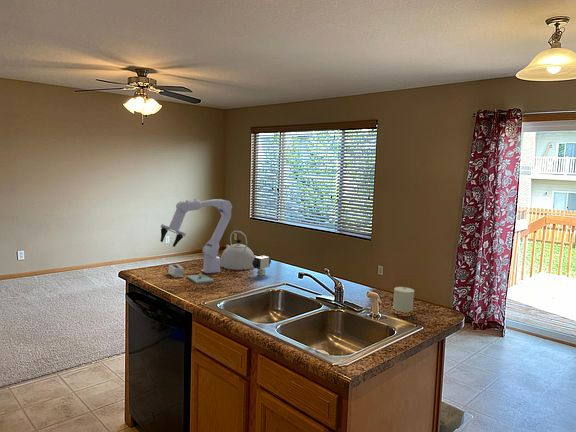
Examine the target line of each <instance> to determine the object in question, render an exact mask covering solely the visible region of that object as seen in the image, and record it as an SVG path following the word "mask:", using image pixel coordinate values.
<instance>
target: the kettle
mask: <svg viewBox="0 0 576 432" xmlns="http://www.w3.org/2000/svg"><path fill="white" fill-rule="evenodd" d="M234 233H240V234H241V235H242V236H244V238H245V244H242V243H241V241H242V240H241V239H239V238H238V239H236V243H233V244H232V236H233V234H234ZM229 242H230V245H229V244H226V245H225V249H224V250H223V251H222V254H221V255H220V268H223V267H224V269H228V270H238V271H239V270H241V271H243V269H244V270H251V269H255V268H254V266H253V264H252V263H253V260H254V257H255V254H254V252H253V251H252V249H250V248H249V247H248V239H247V235H246V234H245V233H244V232H243V231H240V230H233V231H232V232H231V233H230V238H229Z"/></svg>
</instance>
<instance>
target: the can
mask: <svg viewBox="0 0 576 432" xmlns="http://www.w3.org/2000/svg"><path fill="white" fill-rule="evenodd" d="M393 289H394V291H393V292H394V293H393V304H392V310H393V309H395V310H397V311H401V312H410V311H412V312H413V308H414V297H415V289H413V288H411V287H407V286H406V287H405V286H395V287H394V288H393Z"/></svg>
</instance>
